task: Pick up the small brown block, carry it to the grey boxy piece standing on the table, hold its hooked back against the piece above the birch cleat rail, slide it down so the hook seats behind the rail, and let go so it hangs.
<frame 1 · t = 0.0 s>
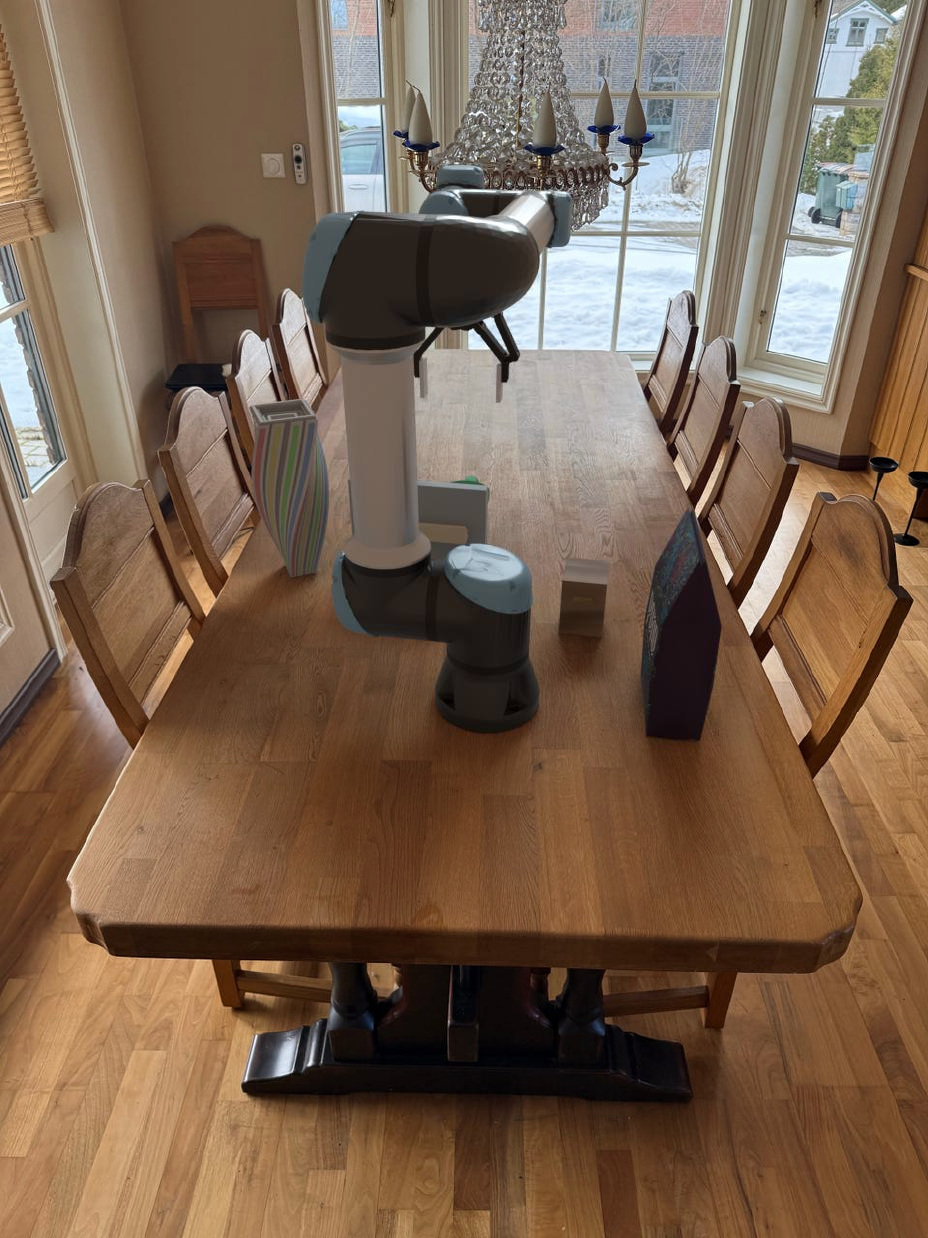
hand: (461, 398, 155), 28 cm above the table, fingers open, 13 cm apart
vase: (301, 569, 160), on the table
mug: (466, 533, 172), on the table
decorative box: (668, 705, 127), on the table
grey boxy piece: (420, 574, 158), on the table
brown block: (581, 627, 143), on the table
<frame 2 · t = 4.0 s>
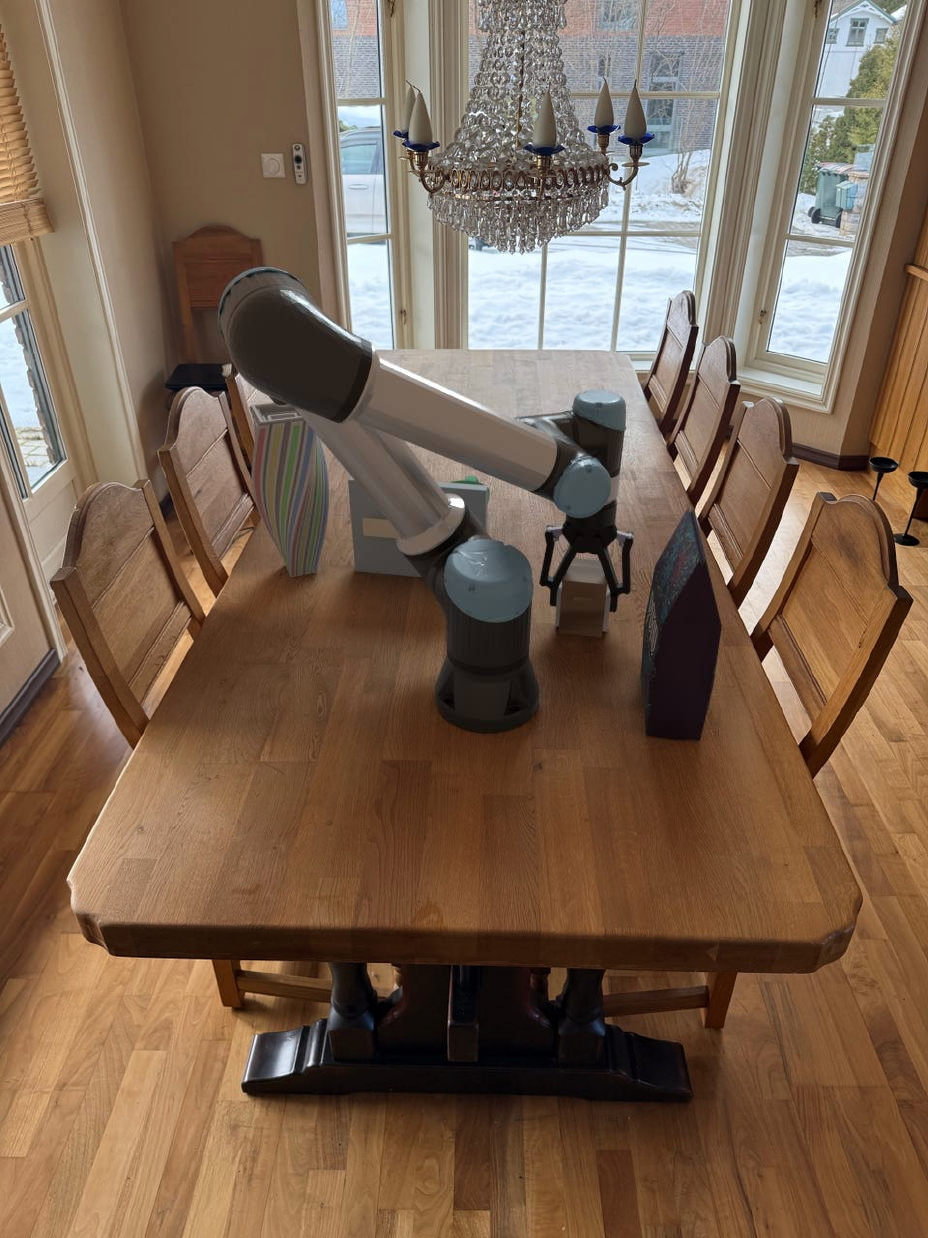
hand: (581, 624, 143), 1 cm above the table, fingers closed on brown block, 7 cm apart
brown block: (581, 627, 143), on the table, touching gripper
everything else where it was.
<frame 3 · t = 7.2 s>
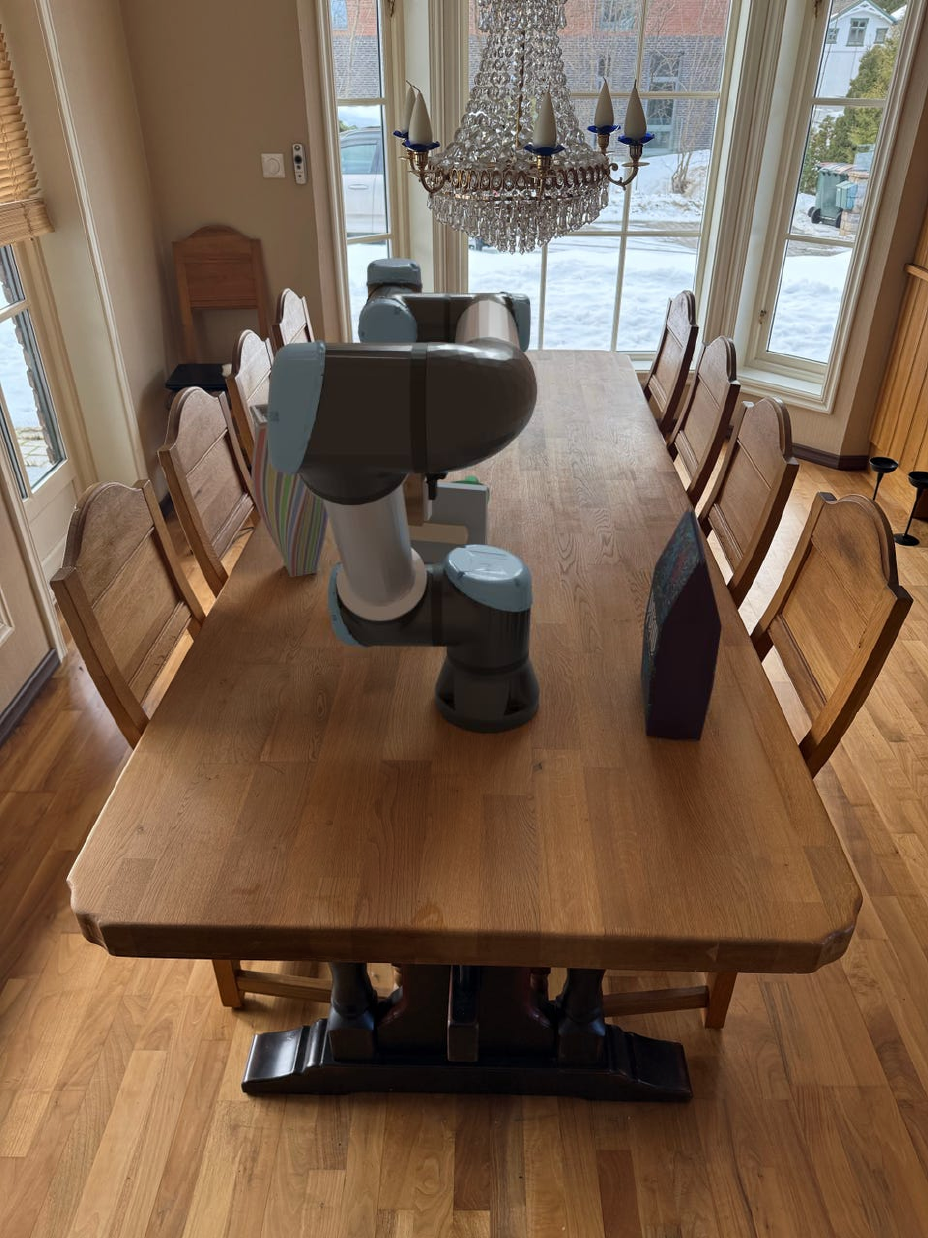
hand: (404, 514, 140), 17 cm above the table, fingers closed on brown block, 7 cm apart
brown block: (404, 517, 140), point 17 cm above the table, touching gripper
everything else where it was.
when the fingers open (4 cm above the table, at t = 10.4 s): brown block stays where it is, resting on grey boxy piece.
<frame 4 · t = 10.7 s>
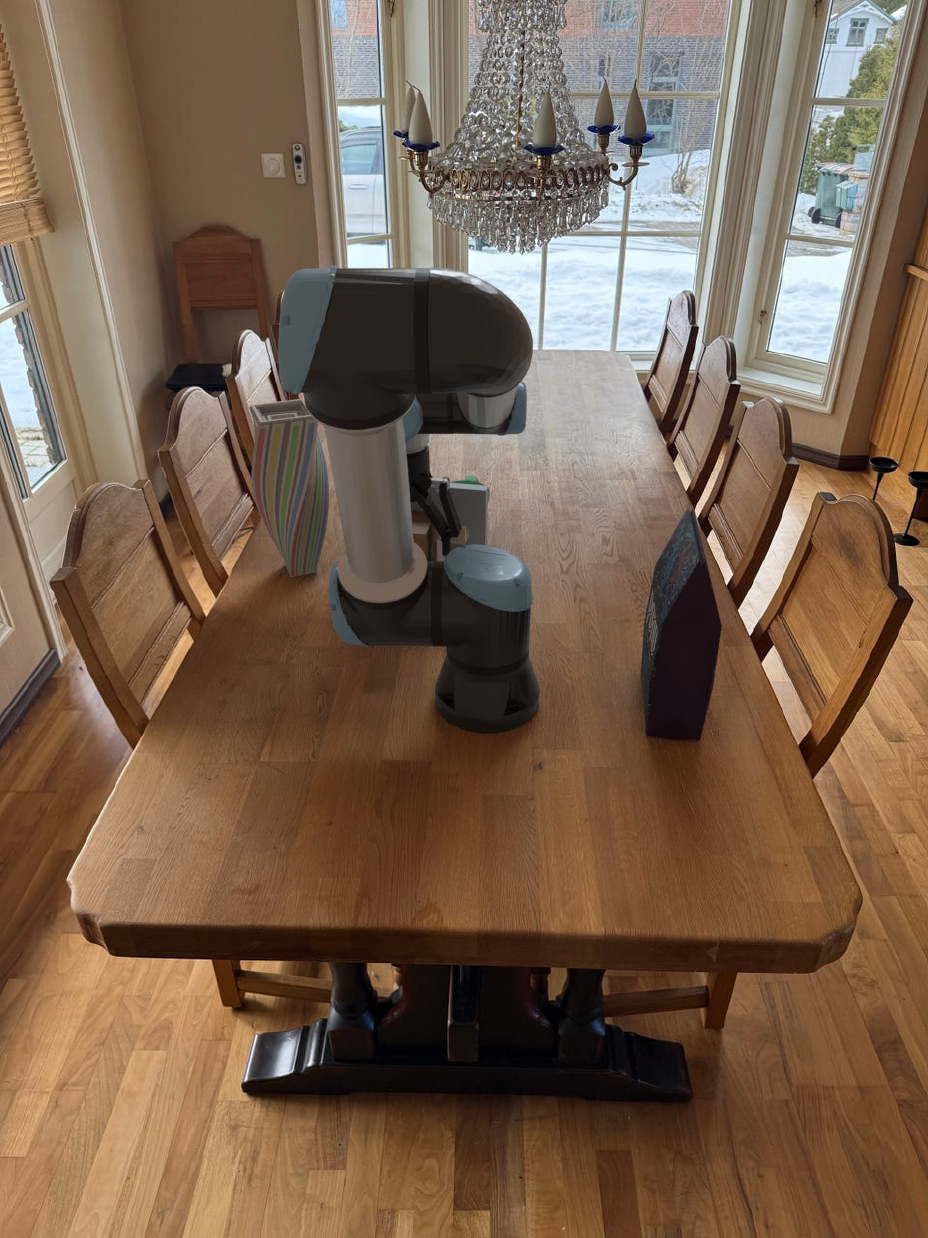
hand: (410, 567, 150), 5 cm above the table, fingers open, 10 cm apart
brown block: (411, 576, 151), point 3 cm above the table, touching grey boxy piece
everything else where it was.
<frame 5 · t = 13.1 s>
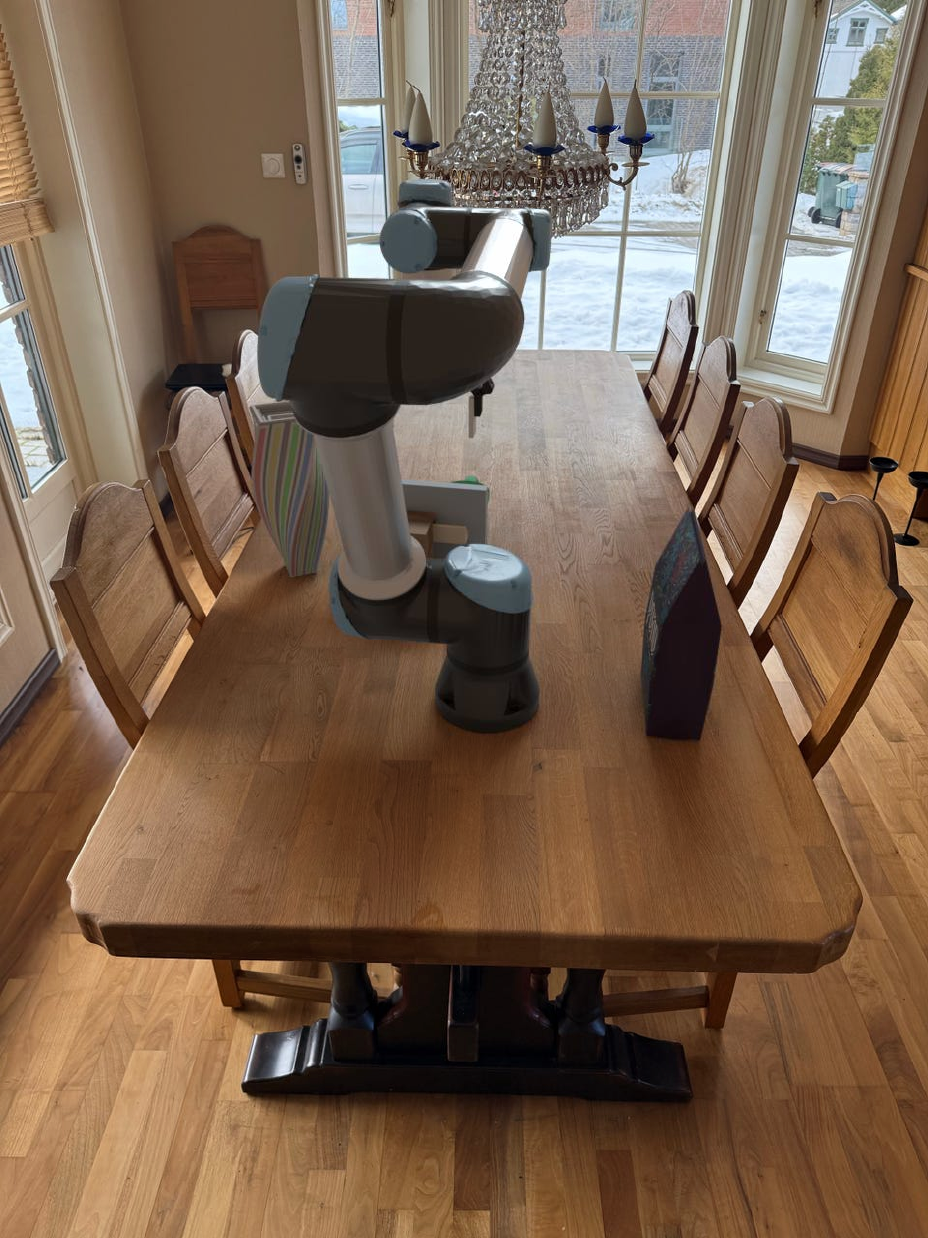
hand: (430, 432, 141), 28 cm above the table, fingers open, 13 cm apart
nothing on the table moved.
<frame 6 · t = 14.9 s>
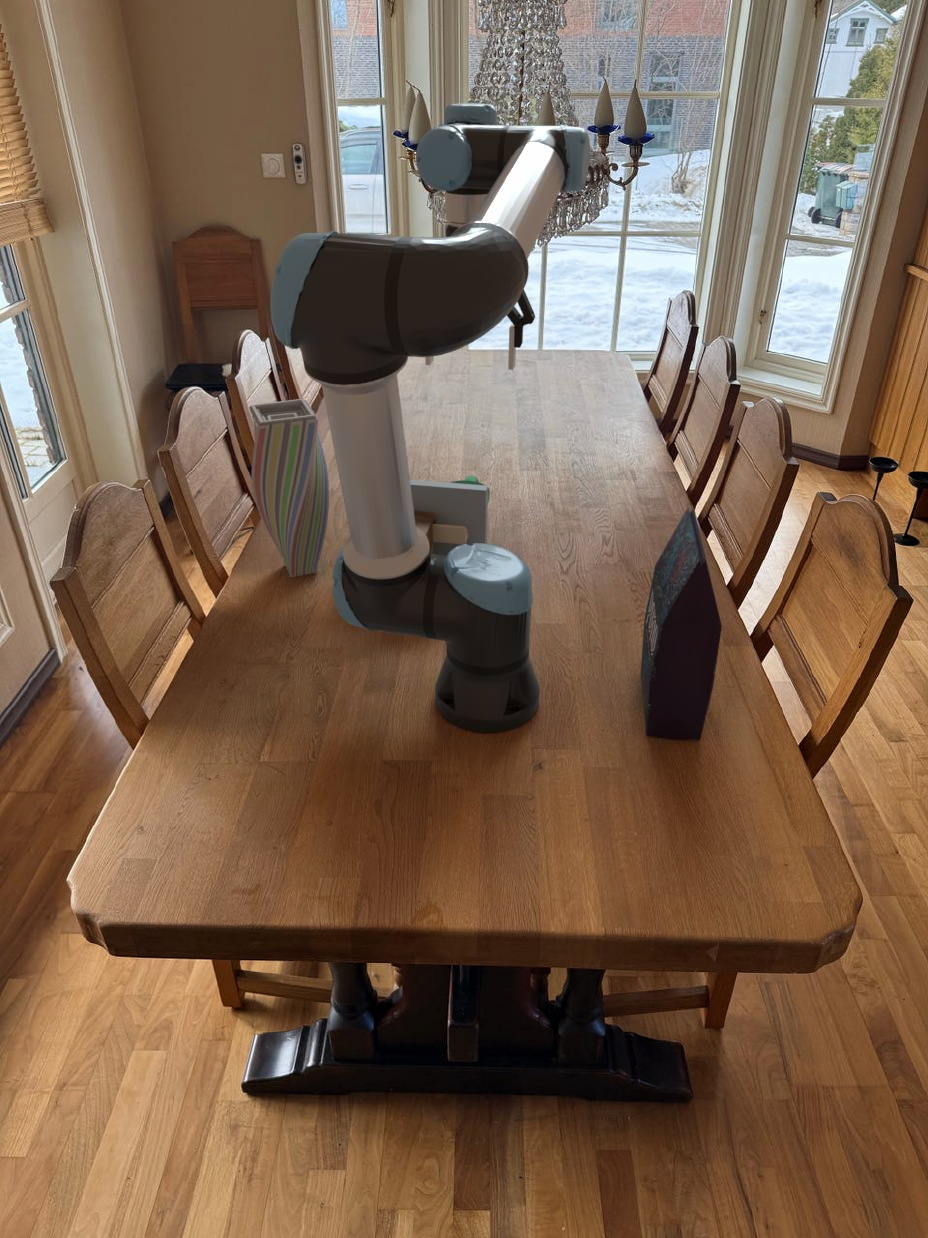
hand: (470, 365, 142), 37 cm above the table, fingers open, 13 cm apart
nothing on the table moved.
at the end: brown block inside the target area on the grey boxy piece (0.5 cm from its centre), point 3.3 cm above the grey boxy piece's base; brown block touching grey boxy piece; brown block tilted 2° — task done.
